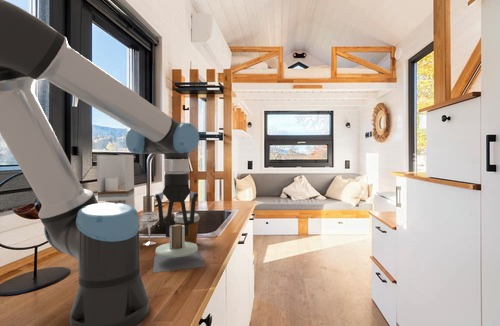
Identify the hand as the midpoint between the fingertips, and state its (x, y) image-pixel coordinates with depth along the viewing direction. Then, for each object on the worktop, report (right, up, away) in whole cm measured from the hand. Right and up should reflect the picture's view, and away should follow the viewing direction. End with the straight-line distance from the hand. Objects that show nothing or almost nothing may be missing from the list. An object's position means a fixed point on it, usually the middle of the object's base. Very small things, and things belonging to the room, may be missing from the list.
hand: (177, 246), depth 91 cm
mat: (0, -5, 0) cm, 5 cm away
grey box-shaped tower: (-29, -5, +22) cm, 37 cm away
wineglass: (-16, -5, +21) cm, 27 cm away
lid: (0, -1, 0) cm, 1 cm away
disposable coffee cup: (0, -5, +17) cm, 18 cm away
